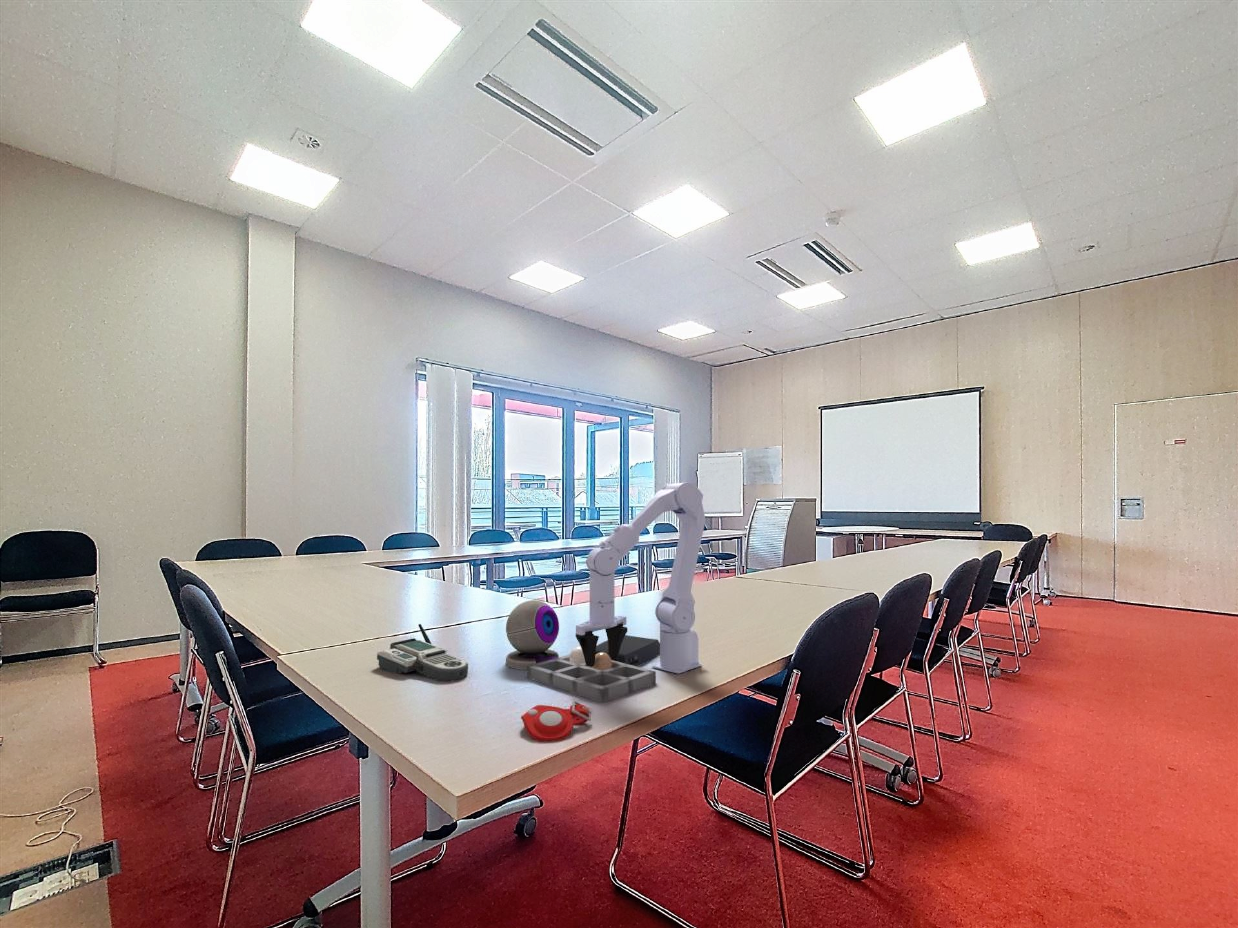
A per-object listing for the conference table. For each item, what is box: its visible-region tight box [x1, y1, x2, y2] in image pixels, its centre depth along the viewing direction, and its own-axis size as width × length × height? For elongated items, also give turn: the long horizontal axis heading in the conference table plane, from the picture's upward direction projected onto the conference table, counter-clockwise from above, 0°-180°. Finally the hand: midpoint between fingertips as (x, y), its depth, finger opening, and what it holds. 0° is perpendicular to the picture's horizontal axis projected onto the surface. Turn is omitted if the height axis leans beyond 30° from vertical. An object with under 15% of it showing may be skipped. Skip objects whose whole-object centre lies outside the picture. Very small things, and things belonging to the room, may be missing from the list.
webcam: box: [505, 599, 560, 671], centre depth 143 cm, size 13×13×15 cm
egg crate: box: [526, 654, 657, 704], centre depth 128 cm, size 24×16×2 cm
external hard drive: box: [595, 634, 660, 667], centre depth 147 cm, size 13×19×4 cm
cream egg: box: [569, 646, 585, 664], centre depth 136 cm, size 4×4×5 cm
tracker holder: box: [520, 699, 592, 743], centre depth 101 cm, size 12×4×10 cm
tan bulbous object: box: [592, 652, 612, 671], centre depth 131 cm, size 4×4×5 cm
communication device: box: [376, 623, 469, 682], centre depth 135 cm, size 12×24×9 cm, turn 54°
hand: (602, 661), depth 131 cm, fingers open, 7 cm apart
